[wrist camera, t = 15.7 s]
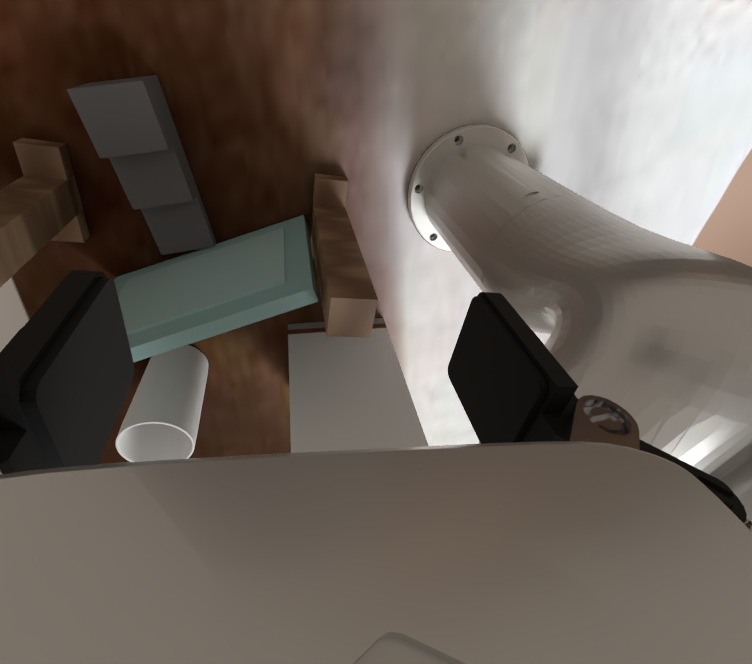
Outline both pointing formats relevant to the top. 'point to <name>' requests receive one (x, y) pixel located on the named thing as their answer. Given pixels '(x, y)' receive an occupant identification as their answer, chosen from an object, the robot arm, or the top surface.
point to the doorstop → (146, 158)
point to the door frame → (68, 223)
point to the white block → (348, 392)
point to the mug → (165, 408)
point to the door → (218, 288)
